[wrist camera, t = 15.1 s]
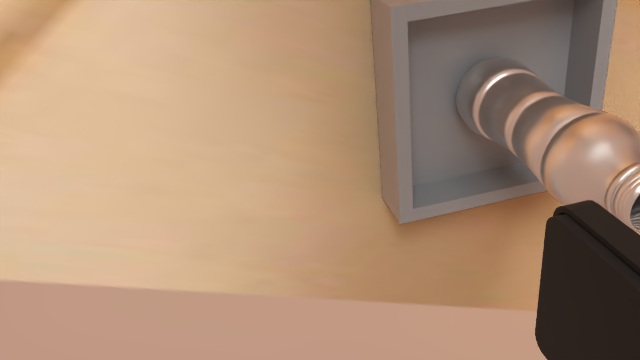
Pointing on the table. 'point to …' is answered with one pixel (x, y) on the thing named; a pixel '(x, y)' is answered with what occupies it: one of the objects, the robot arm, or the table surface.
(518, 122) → the plastic bottle
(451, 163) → the bin
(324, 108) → the table surface
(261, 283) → the table surface
